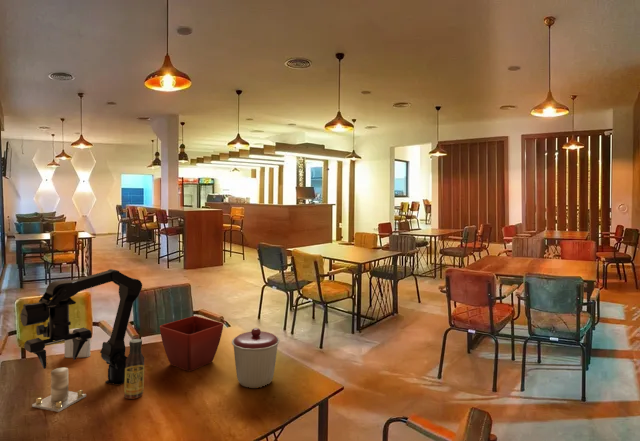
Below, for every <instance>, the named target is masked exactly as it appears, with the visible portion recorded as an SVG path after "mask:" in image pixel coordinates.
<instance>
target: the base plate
mask: <svg viewBox="0 0 640 441" xmlns="http://www.w3.org/2000/svg"><path fill="white" fill-rule="evenodd" d="M86 397H87V393H84V390H83V389H78V390H77V391H70V390H68V399H67V400H65V401H63V402H62V401H58V402H56V403H53V402H51V394H50V395H48V396H47V397H44V398H42V397H36V398H35V402H34V403H32V404H31V405H32V408H36V409H37V408H38V409H41V410H47V411H52V412H56V413H60V412H61V411H63V410H65V409H67V408H68V407H70V406H72V405H73V404H75V403H77V402H79V401H81V400H83V399H84V398H86Z"/></svg>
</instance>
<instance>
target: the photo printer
mask: <svg viewBox="0 0 640 441" xmlns="http://www.w3.org/2000/svg"><path fill="white" fill-rule="evenodd" d="M75 329H79V327H78V328H75V327H74V328H69V333H70V334H71V333H73V330H75ZM91 338H92V337H91ZM91 338H89V339H88V341H86V342H85V343H84V345H83V346H82V348H81V350H80V352H79V354H78V356H77V358H89V357H90V356H91V352H90V351H91V349H92V348H91V347H92V346H91V344H92V343H91V342H92V341H91ZM64 358H71V359H72V358H73V340H72V339H70V340H66V341H64Z"/></svg>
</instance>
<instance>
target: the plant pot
mask: <svg viewBox="0 0 640 441" xmlns="http://www.w3.org/2000/svg"><path fill="white" fill-rule="evenodd" d="M223 330H224V323H223V322H219V321H217V320H216V321H215V320H213V319H209V318H205V317H201V316H197V315H194V316H193V315H192V316H188V317H185V318H182V319H178V320H175V321H171V322H168V323H163V324H161V325H159V332H160V338H161V342H162V346H163V349H164V352H165V354H166V356H167V360H168V363H169V364H170V365H172V366H173V367H176V368H179V369H182V370H184V371H186V372H191V371H194V370H197V369H199V368H202V367H204V366H206V365H208V364H211V363H213V360H214V359H215V356H216V353H217V350H218V347H219V344H220V342H221V337H222V334H223Z"/></svg>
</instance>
